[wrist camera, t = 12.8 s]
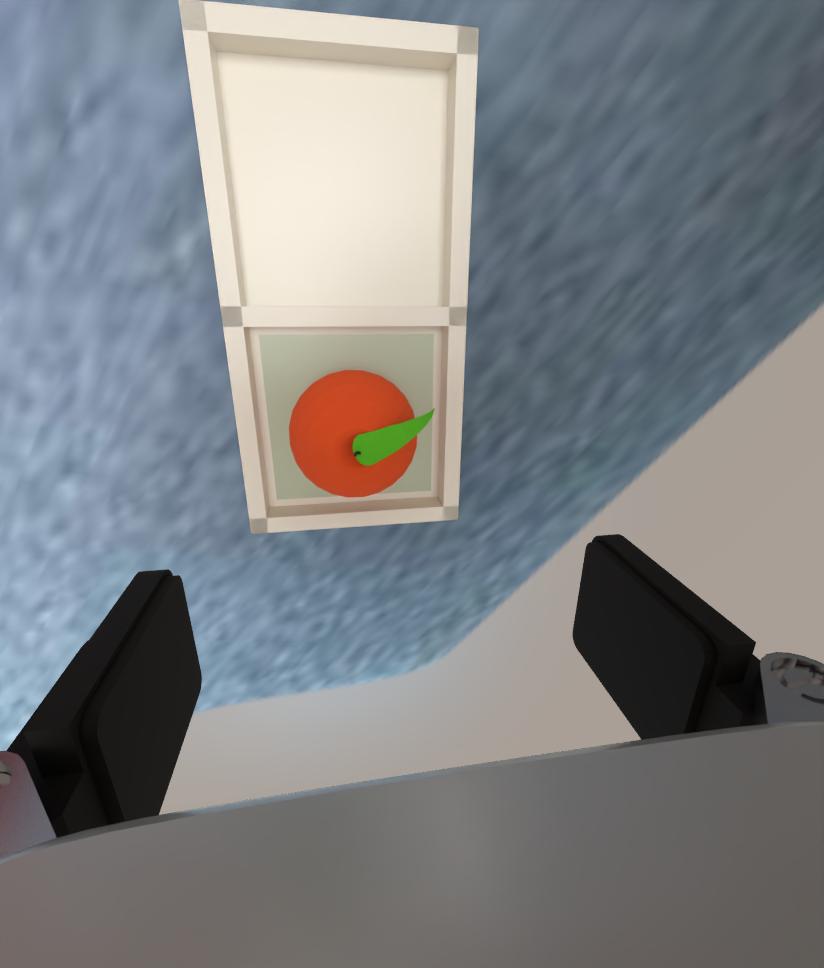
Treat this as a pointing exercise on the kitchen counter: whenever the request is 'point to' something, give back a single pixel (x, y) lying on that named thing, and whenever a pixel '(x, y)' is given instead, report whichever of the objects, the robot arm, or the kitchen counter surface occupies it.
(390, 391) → the clementine
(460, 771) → the robot arm
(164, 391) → the kitchen counter surface
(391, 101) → the two-compartment tray
